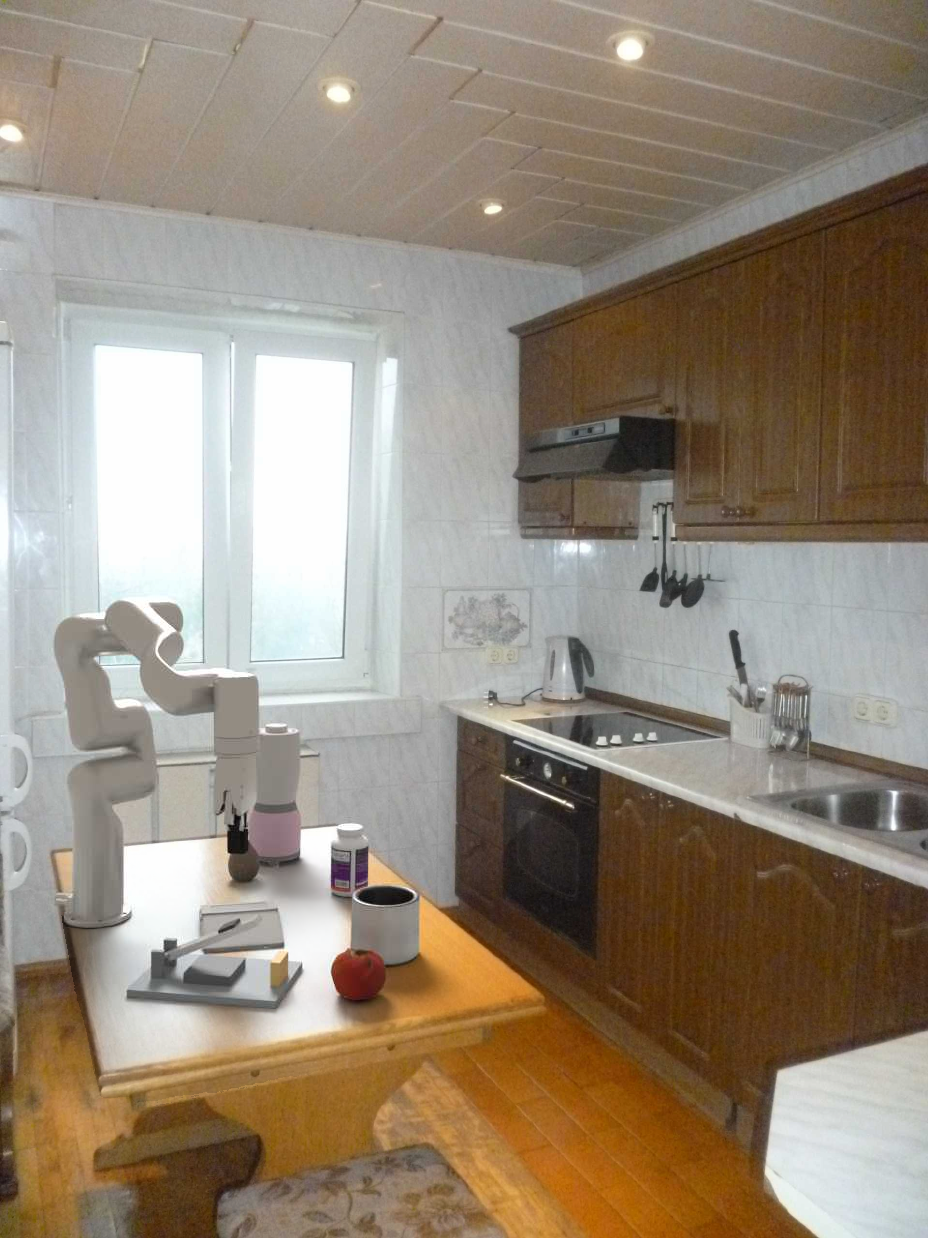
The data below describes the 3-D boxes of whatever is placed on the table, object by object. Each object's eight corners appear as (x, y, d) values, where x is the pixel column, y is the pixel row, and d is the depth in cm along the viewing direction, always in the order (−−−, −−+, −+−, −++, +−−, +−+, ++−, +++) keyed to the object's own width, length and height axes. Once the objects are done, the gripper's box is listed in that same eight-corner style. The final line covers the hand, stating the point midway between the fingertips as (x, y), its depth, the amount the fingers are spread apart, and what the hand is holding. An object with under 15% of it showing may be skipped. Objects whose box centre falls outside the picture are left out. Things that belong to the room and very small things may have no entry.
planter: (402, 973, 182) (403, 911, 181) (338, 961, 186) (339, 900, 185) (429, 948, 193) (430, 889, 193) (368, 937, 198) (369, 880, 197)
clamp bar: (157, 967, 175) (153, 956, 175) (166, 958, 178) (162, 948, 178) (256, 927, 172) (252, 917, 172) (263, 920, 176) (259, 910, 176)
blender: (280, 870, 237) (282, 732, 234) (236, 862, 242) (238, 726, 239) (317, 852, 251) (320, 722, 249) (275, 845, 256) (277, 717, 254)
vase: (266, 879, 231) (266, 840, 230) (244, 887, 225) (244, 847, 224) (243, 873, 234) (244, 835, 234) (221, 880, 228) (221, 841, 228)
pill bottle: (363, 885, 228) (364, 820, 227) (371, 897, 220) (373, 830, 219) (326, 888, 226) (328, 823, 225) (334, 900, 218) (335, 832, 217)
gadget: (285, 950, 192) (285, 930, 192) (201, 956, 188) (202, 937, 188) (274, 908, 214) (274, 890, 214) (199, 913, 210) (199, 895, 210)
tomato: (334, 983, 177) (335, 937, 176) (388, 985, 176) (389, 939, 176) (326, 1007, 167) (326, 959, 167) (382, 1009, 167) (383, 961, 167)
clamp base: (126, 996, 169) (126, 962, 169) (165, 958, 185) (166, 927, 185) (275, 1008, 166) (276, 973, 166) (302, 968, 182) (302, 936, 182)
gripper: (229, 738, 184) (230, 840, 184) (199, 753, 169) (201, 864, 170) (270, 739, 183) (271, 841, 184) (244, 754, 168) (246, 865, 169)
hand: (237, 852), depth 177 cm, fingers closed
